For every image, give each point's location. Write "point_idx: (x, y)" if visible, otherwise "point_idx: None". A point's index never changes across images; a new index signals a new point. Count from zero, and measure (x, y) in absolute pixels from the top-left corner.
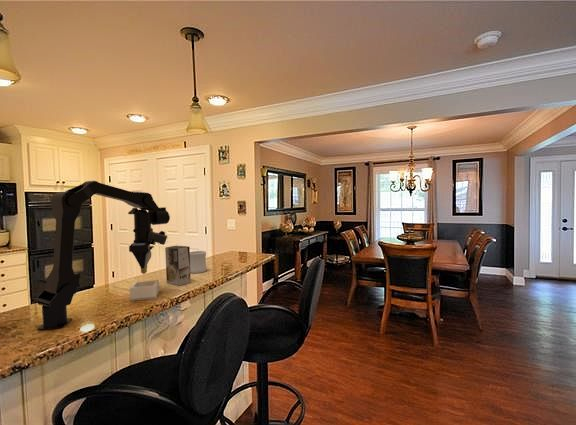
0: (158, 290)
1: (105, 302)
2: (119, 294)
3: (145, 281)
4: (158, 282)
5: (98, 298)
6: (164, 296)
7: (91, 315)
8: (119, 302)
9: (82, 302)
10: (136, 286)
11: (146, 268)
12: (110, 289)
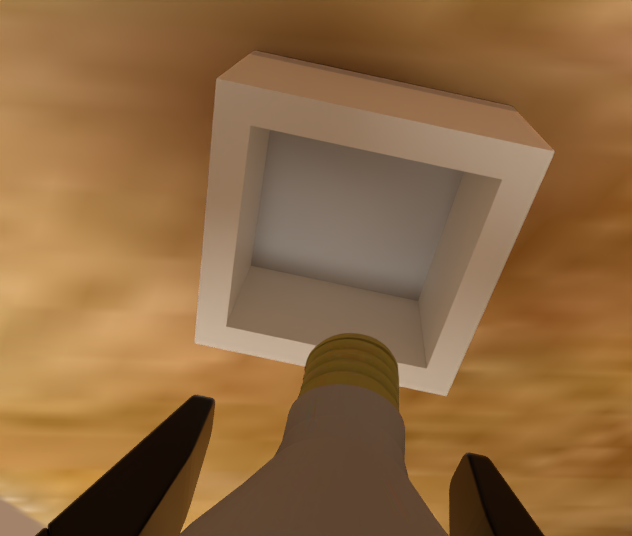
0: (303, 67)
1: None
2: (186, 365)
3: (228, 246)
4: (266, 82)
5: (231, 463)
6: (487, 4)
7: (592, 495)
8: None
9: None
10: (261, 308)
11: (377, 387)
12: (19, 406)
